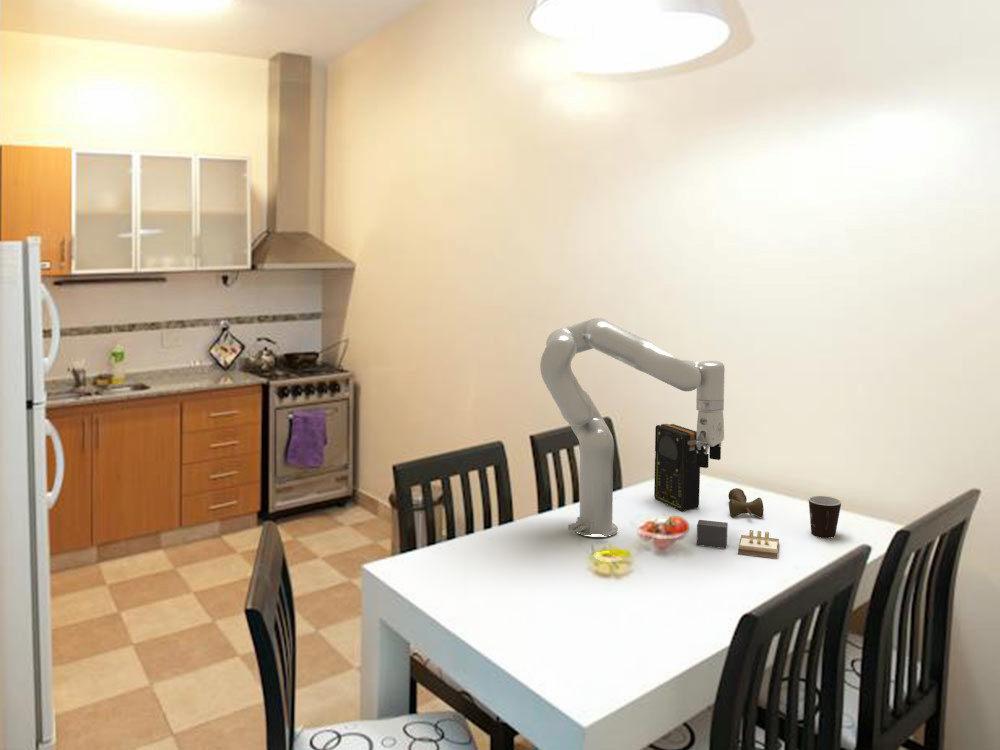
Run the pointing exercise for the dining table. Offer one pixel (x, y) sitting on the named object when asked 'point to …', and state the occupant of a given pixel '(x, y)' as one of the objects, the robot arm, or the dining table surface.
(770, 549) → the pin board
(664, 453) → the voltmeter
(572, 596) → the dining table surface
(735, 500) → the kendama
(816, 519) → the coffee mug
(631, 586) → the dining table surface
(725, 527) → the plug housing
